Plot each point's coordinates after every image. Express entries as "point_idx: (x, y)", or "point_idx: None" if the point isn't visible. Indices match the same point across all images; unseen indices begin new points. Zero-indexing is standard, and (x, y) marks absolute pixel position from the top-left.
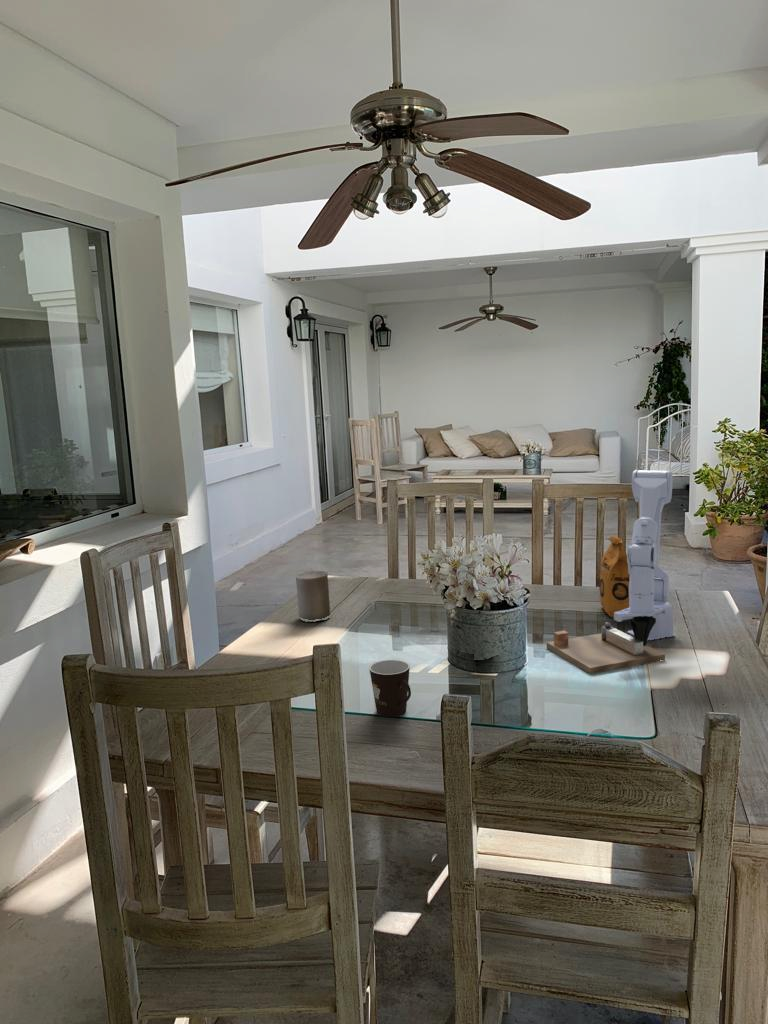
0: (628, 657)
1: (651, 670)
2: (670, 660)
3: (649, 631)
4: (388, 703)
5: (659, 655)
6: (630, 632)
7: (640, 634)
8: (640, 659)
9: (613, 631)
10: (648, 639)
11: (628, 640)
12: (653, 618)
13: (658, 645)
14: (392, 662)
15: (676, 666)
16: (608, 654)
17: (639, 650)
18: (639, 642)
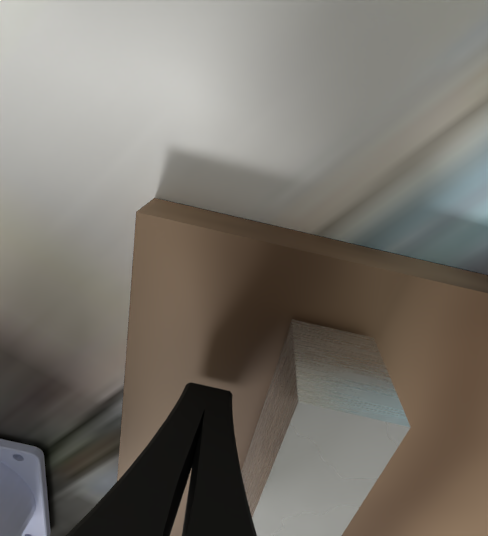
0: (432, 344)
1: (432, 107)
2: (117, 171)
3: (117, 502)
4: None
5: (194, 226)
6: (43, 530)
7: (249, 510)
8: (391, 268)
9: None
10: (18, 449)
11: (363, 494)
12: None
13: (11, 382)
14: None
15: (174, 30)
16: (468, 448)
17: (334, 349)
18: (348, 414)
